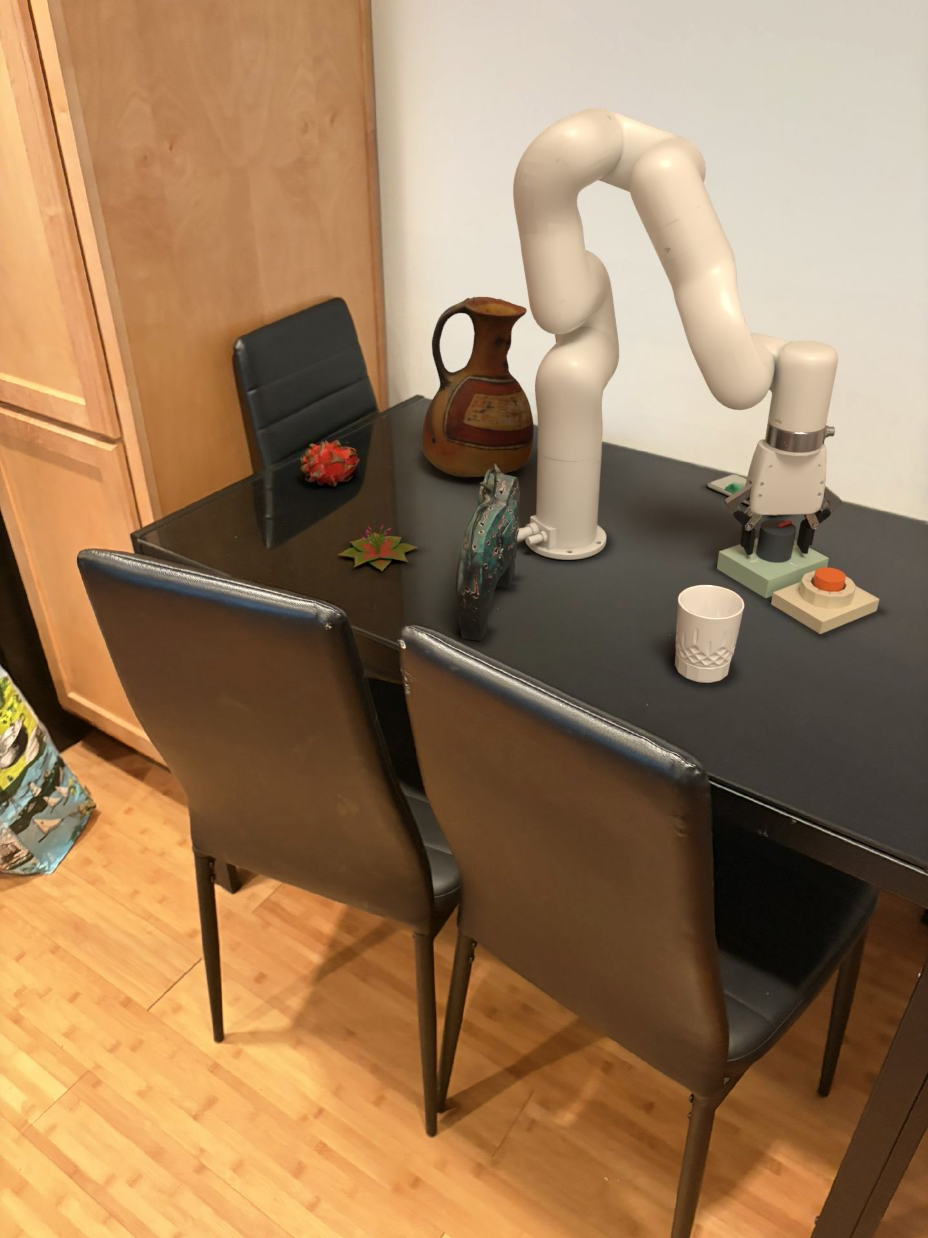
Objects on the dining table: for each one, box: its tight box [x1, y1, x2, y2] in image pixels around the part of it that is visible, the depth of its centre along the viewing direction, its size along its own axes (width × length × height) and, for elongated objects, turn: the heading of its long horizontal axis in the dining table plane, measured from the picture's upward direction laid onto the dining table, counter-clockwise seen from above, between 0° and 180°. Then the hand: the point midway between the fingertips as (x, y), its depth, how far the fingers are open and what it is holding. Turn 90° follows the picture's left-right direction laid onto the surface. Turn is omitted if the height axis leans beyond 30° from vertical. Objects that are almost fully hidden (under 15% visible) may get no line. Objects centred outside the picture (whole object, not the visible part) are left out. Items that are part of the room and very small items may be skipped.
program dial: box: [756, 518, 797, 562], centre depth 140 cm, size 5×5×5 cm
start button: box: [813, 566, 847, 592], centre depth 132 cm, size 4×4×2 cm
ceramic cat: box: [454, 463, 521, 642], centre depth 131 cm, size 20×6×20 cm, turn 163°
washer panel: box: [716, 537, 830, 599], centre depth 142 cm, size 12×10×3 cm
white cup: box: [674, 584, 745, 684], centre depth 120 cm, size 8×8×10 cm
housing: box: [770, 571, 880, 635], centre depth 133 cm, size 11×9×4 cm
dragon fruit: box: [299, 439, 361, 488], centre depth 171 cm, size 8×8×12 cm
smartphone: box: [707, 473, 779, 517], centre depth 164 cm, size 7×1×15 cm
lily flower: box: [337, 524, 419, 572], centre depth 149 cm, size 12×12×5 cm
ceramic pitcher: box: [421, 296, 535, 478], centre depth 169 cm, size 20×20×30 cm
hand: (774, 549), depth 141 cm, fingers open, 7 cm apart
